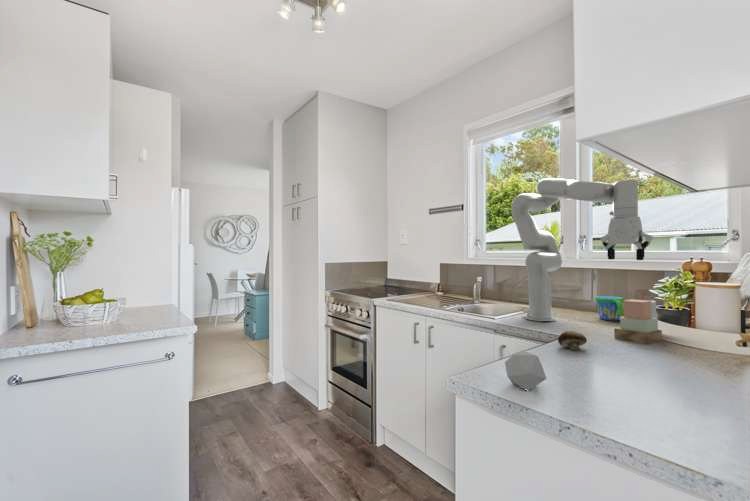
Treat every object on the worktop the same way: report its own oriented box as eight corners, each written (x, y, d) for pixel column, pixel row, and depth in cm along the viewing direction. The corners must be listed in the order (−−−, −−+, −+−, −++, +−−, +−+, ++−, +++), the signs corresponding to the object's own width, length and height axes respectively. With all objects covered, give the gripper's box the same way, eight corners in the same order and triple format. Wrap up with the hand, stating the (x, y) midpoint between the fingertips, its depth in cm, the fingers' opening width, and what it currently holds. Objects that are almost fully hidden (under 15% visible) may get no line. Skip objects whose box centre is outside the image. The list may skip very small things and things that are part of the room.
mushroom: (584, 343, 105) (578, 324, 109) (557, 350, 110) (552, 331, 113) (593, 352, 110) (586, 333, 114) (567, 358, 114) (561, 339, 118)
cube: (624, 317, 123) (623, 300, 123) (631, 315, 126) (631, 299, 126) (644, 320, 118) (643, 302, 118) (651, 318, 121) (651, 300, 121)
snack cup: (632, 322, 151) (631, 299, 151) (606, 322, 152) (605, 299, 152) (612, 316, 166) (612, 295, 166) (589, 316, 168) (588, 295, 168)
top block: (620, 328, 123) (620, 317, 123) (631, 326, 127) (631, 315, 127) (647, 332, 116) (646, 320, 116) (658, 330, 120) (657, 318, 120)
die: (555, 395, 77) (547, 353, 83) (535, 383, 73) (528, 339, 79) (520, 399, 82) (516, 359, 88) (500, 388, 78) (496, 347, 84)
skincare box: (655, 335, 127) (654, 302, 127) (640, 333, 130) (639, 301, 131) (658, 332, 131) (657, 300, 132) (643, 331, 135) (642, 299, 135)
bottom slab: (614, 339, 124) (614, 328, 124) (629, 336, 129) (629, 325, 129) (647, 345, 115) (646, 333, 116) (662, 341, 120) (661, 330, 120)
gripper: (595, 215, 136) (595, 259, 136) (646, 210, 120) (646, 260, 120) (606, 216, 139) (606, 258, 139) (657, 211, 124) (657, 260, 124)
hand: (625, 259), depth 130 cm, fingers open, 9 cm apart
